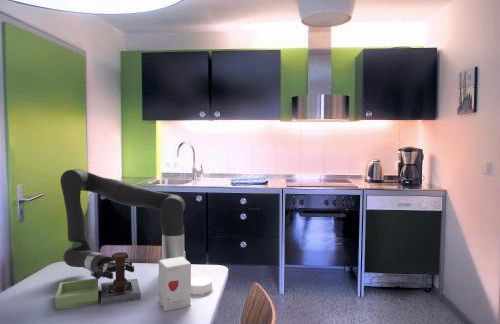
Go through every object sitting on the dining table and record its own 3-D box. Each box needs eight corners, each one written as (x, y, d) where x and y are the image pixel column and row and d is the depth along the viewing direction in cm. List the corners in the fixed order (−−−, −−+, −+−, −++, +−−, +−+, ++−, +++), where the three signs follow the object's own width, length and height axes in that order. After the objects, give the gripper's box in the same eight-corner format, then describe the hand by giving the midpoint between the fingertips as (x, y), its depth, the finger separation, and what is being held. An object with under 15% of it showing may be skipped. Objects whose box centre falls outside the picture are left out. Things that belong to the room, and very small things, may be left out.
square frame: (137, 284, 140) (137, 278, 140) (140, 299, 127) (140, 292, 127) (101, 289, 135) (101, 283, 135) (101, 305, 122) (101, 298, 122)
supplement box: (165, 312, 118) (165, 267, 117) (158, 301, 126) (157, 259, 125) (191, 306, 122) (191, 263, 121) (183, 296, 130) (182, 255, 129)
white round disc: (205, 296, 130) (205, 287, 130) (181, 293, 133) (181, 284, 133) (216, 286, 140) (216, 277, 140) (193, 283, 143) (193, 274, 142)
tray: (98, 288, 137) (98, 278, 136) (98, 303, 124) (97, 292, 123) (60, 293, 132) (59, 282, 131) (55, 309, 119) (55, 298, 118)
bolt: (122, 298, 128) (121, 257, 127) (109, 297, 129) (108, 256, 128) (130, 291, 133) (130, 252, 133) (118, 290, 134) (118, 251, 134)
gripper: (80, 258, 134) (104, 268, 124) (115, 249, 145) (139, 257, 135) (81, 278, 134) (105, 289, 124) (115, 268, 145) (139, 277, 135)
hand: (123, 272), depth 130 cm, fingers open, 8 cm apart
